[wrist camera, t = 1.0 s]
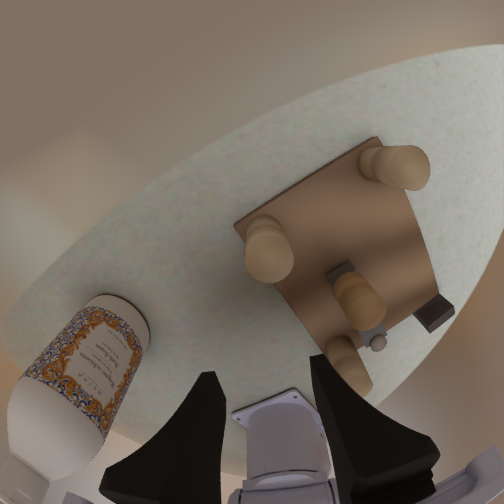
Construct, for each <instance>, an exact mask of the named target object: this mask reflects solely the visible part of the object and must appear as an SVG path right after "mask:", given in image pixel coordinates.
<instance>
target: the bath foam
mask: <svg viewBox="0 0 504 504" xmlns="http://www.w3.org/2000/svg"><path fill="white" fill-rule="evenodd" d="M148 344H149V331H148V327H147V325H146V323H145V321H144V319H143V317H142V316H141V315H140V313H139V312H138V311H137V310H136V309H135V308H134V307H133V306H132V305H130V304H129V303H128V302H126V301H124V300H122V299H120V298H118V297H115V296H111V295H101V296H97V297H95V298H93V299H92V300H91V301H89V302H88V303H87V304H86V305H85V306H84V307H83V308H82V309H81V310H80V311H79V312H78V313H77V314H76V315H75V316H74V317H73V318H72V319H71V320H70V321H69V323H68V324H67V325H66V326H65V327H64V328H63V329H62V330H61V331H60V332H59V333H58V334H57V335H56V337H55V338H54V339H53V340H52V341H51V342H50V343H49V344H48V345H47V347H46V348H45V349H44V350H43V351H42V352H41V353H40V355H39V356H38V357H37V358H36V359H35V360H34V362H33V363H32V364H31V365H30V366H29V368H28V369H27V370H26V371H25V372H24V374H23V375H22V376H21V377H20V379H19V380H18V382H17V384H16V385H15V387H14V389H13V391H12V394H11V397H10V400H9V404H8V411H7V426H8V439H9V447H10V454H9V455H8V456H7V458H6V460H5V461H4V463H3V465H2V467H1V469H0V500H1V501H2V502H3V503H5V504H42V503H43V500H44V498H45V495H46V493H47V490H48V488H49V483H51V482H52V481H55V480H57V479H60V478H63V477H65V476H68V475H70V474H72V473H74V472H76V471H78V470H80V469H82V468H83V467H85V466H86V465H88V464H89V463H90V462H91V461H92V460H93V459H94V457H95V456H96V455H97V454H98V452H99V451H100V449H101V447H102V445H103V444H104V442H105V439H106V437H107V435H108V432H109V430H110V428H111V425H112V423H113V421H114V418H115V416H116V414H117V412H118V409H119V407H120V405H121V403H122V401H123V398H124V396H125V394H126V392H127V390H128V387H129V385H130V383H131V381H132V379H133V377H134V375H135V373H136V371H137V368H138V366H139V364H140V362H141V360H142V358H143V356H144V354H145V352H146V350H147V347H148Z"/></svg>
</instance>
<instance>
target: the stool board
mask: <svg viewBox="0 0 504 504" xmlns="http://www.w3.org/2000/svg"><path fill="white" fill-rule="evenodd" d="M429 176H430V163H429V160H428V157H427V155H426V154H425V153H424V151H423V150H422V149H420V148H419V147H417V146H413V145H408V146H386V147H383V145H382V143H381V141H380V140H379V138H378V136H377V137H371V138H370V139H368V140H366V141H365V142H363V143H361V144H360V145H358V146H356V147H355V148H353V149H351V150H349V151H348V152H346V153H344V154H343V155H341V156H340V157H338V158H336V159H335V160H333V161H331V162H330V163H328V164H326V165H325V166H323V167H322V168H320V169H318V170H317V171H315V172H313V173H312V174H310V175H309V176H307V177H305V178H304V179H302V180H301V181H299V182H297V183H296V184H294V185H293V186H291V187H290V188H288V189H286V190H285V191H283V192H282V193H280V194H279V195H277V196H275V197H274V198H272V199H271V200H269V201H268V202H266V203H265V204H263V205H262V206H260V207H258V208H257V209H255V210H254V211H252V212H251V213H249V214H248V215H246V216H245V217H243V218H242V219H240V220H239V221H237V222H236V223H234V228H235V230H236V231H237V232H238V234H239V235H240V237H241V238H242V239H243V241H244V242H245V244H246V248H245V267H246V269H247V271H248V273H249V274H250V276H251V277H253V278H254V279H255V280H257V281H259V282H263V283H274V285H275V286H276V287H277V289H278V290H279V292H280V293H281V294H282V296H283V297H284V299H285V300H286V301H287V303H288V304H289V306H290V307H291V308H292V310H293V311H294V313H295V314H296V316H297V317H298V318H299V320H300V321H301V323H302V324H303V325H304V327H305V328H306V330H307V331H308V332H309V334H310V335H311V337H312V338H313V339H314V341H315V342H316V344H317V345H318V346H319V348H320V349H321V351H322V352H323V354H324V355H325V356H326V357H327V359H328V360H329V362H330V363H331V365H332V366H333V367H334V369H335V370H336V371H337V372H338V374H339V375H340V376H341V377H342V378H343V379H344V380H345V381H346V382H347V384H348V385H349V386H350V387H351V388H352V389H353V390H354V391H355V392H356V393H358V394H359V395H360V396H361V397H364V396H365V395H366V394H368V393H369V392H370V390H371V389H372V386H373V383H372V381H371V379H370V377H369V375H368V372H367V370H366V368H365V366H364V364H363V362H362V360H361V358H360V356H359V354H358V352H357V349H359V348H360V347H362V346H364V345H365V344H364V342H363V340H362V339H361V337H360V335H359V333H358V331H357V330H355V329H354V328H353V327H352V326H351V325H350V323H349V321H348V319H347V317H346V315H345V314H344V312H343V310H342V308H341V306H340V305H339V303H338V301H337V299H336V298H335V296H334V292H333V287H332V285H331V283H330V282H329V280H328V278H327V277H326V275H327V274H328V273H330V272H332V271H333V270H335V269H336V268H338V267H339V266H341V265H343V264H344V263H346V262H347V261H350V262H351V263H352V265H353V266H354V267H355V268H356V269H357V271H358V273H360V274H361V275H362V276H363V277H364V278H365V279H366V280H367V281H368V283H369V284H370V285H371V286H372V287H373V288H374V289H375V291H376V292H377V293H378V294H379V295H380V297H381V298H382V299H383V300H384V301H385V304H386V314H385V316H384V318H383V320H382V324H383V326H384V328H385V330H386V331H388V330H389V329H391V328H392V327H394V326H395V325H397V324H398V323H400V322H401V321H402V320H404V319H405V318H407V317H408V316H410V315H411V314H413V315H414V316H415V317H416V318H417V319H418V320H419V322H420V323H421V324H422V325H423V326H424V327H425V328H426V330H427V331H428V332H429V333H431V332H433V331H434V330H435V329H437V328H438V327H439V326H441V325H442V324H443V323H444V322H446V321H447V320H448V319H449V318H451V317H452V316H453V315H454V314H455V310H454V306H453V305H452V304H451V303H450V302H449V301H448V300H446V299H445V298H444V297H443V296H442V295H441V294H439V291H438V287H437V283H436V279H435V275H434V272H433V268H432V265H431V261H430V258H429V255H428V252H427V249H426V246H425V243H424V240H423V237H422V234H421V231H420V228H419V225H418V223H417V220H416V217H415V215H414V212H413V210H412V207H411V205H410V202H409V200H408V198H407V195H406V193H405V191H404V189H407V190H411V191H417V190H420V189H421V188H423V187H424V186H425V185H426V183H427V182H428V179H429Z"/></svg>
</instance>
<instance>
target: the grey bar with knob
mask: <svg viewBox="0 0 504 504" xmlns="http://www.w3.org/2000/svg"><path fill="white" fill-rule="evenodd" d="M326 277H327V278H328V280H329V282H330V283H331V285H332V287H333V292H334V296H335V298H336V299H337V301H338V303H339V305H340V306H341V308H342V310H343V312H344V314H345V315H346V317H347V319H348V321H349V323H350V325H351V326H352V327H353V328H354V329H355V330H357V331H358V333H359V335H360V337H361V339H362V340H363V342H364V344H365V346H366V348H367V347H369V346H370V347H371V349H372V351H374V352H378V351H381V350H382V349H383V348H384V347H385V346H386V344H387V340H386V338H385V336H386V335H387V333H386V330H385V328H384V326H383V324H382V320H383V318H384V316H385V314H386V304H385V301H384V300H383V299H382V298H381V297H380V295H379V294H378V293H377V292H376V291H375V289H374V288H373V287H372V286H371V285H370V284H369V283H368V281H367V280H366V279H365V278H364V277H363V276H362V275H361V274H360V273H358V271H357V269H356V268H355V267H354V266H353V265H352V263H351V262H350V261H347V262H346V263H344V264H343V265H341V266H339V267H338V268H336V269H335V270H333V271H332V272H330V273H328V274H327V275H326Z"/></svg>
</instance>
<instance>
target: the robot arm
mask: <svg viewBox="0 0 504 504" xmlns="http://www.w3.org/2000/svg"><path fill="white" fill-rule="evenodd" d="M310 367H311V377H312V387H313V392H314V396H315V401H316V405H317V409H318V412H319V413H318V412H317V411H316V410H315V409H314V407H313V406H312V405H311V404H310V403H309V402H308V401H307V400H306V399H305V398H304V397H303V396H302V395H301V394H300V393H299V392H298V391H297V390H296V389H291V390H289V391H287V392H284V393H282V394H280V395H277V396H275V397H273V398H270V399H268V400H265V401H263V402H261V403H258V404H255V405H253V406H250V407H248V408H245V409H242V410H240V411H237V412H234V413H232V415H231V417H232V418H233V419H234V420H235V421H237V422H238V423H239V424H241V425H242V426H243V427H245V428H246V429H247V430H248V434H247V480H243V489H236V490H235V491H234V492H233V493H232V494H231V495H230V496H229V499H228V504H487V503H488V502H490V501H491V500H492V499H494V498H495V497H496V496H497V495H499V494H500V493H501V492H502V491H504V459H503V457H502V455H501V454H500V452H499V450H498V448H497V447H496V445H493V446H491V447H490V448H489V449H487V450H486V451H484V452H483V453H481V454H480V455H478V456H477V457H476V458H474V459H473V460H472V461H471V462H470V463H468V465H467V466H466V467H465V468H464V469H462V470H461V471H459V472H457V473H456V474H454V475H452V476H450V477H448V478H447V479H445V480H443V481H441V482H439V483H437V484H435V485H434V483H433V481H432V477H433V473H432V471H431V468H432V467H433V466H434V465H435V463H436V462H437V461H438V459H439V457H440V452H439V450H438V448H437V446H436V445H435V443H434V442H433V441H432V440H431V438H430V437H429V436H427V435H424V434H421V433H419V432H416V431H414V430H412V429H409V428H407V427H405V426H403V425H401V424H399V423H398V422H396V421H394V420H392V419H391V418H389V417H388V416H386V415H384V414H383V413H381V412H380V411H378V410H377V409H376V408H374V407H373V406H372V405H370V404H369V403H368V402H367V401H365V400H364V399H363V398H362V397H361V396H360V395H359V394H358V393H356V392H355V391H354V390H353V389H352V388H351V387H350V386H349V385H348V384H347V382H346V381H345V380H344V379H343V378H342V377H341V376H340V375H339V374H338V372H337V371H336V370H335V369H334V367H333V366H332V365H331V363H330V362H329V360H328V359H327V357H326V356H325V355H324V354H320V355H315V356H310ZM295 395H296V396H295ZM225 422H226V397H225V395H224V393H223V390H222V388H221V385H220V383H219V381H218V378H217V376H216V373H215V371H211V372H202V373H201V374H200V376H199V378H198V379H197V381H196V382H195V384H194V386H193V387H192V389H191V390H190V392H189V393H188V395H187V396H186V398H185V399H184V401H183V402H182V404H181V405H180V407H179V408H178V409H177V410H176V412H175V413H174V414H173V416H172V417H171V418H170V419H169V421H168V422H167V423H166V424H165V425H164V426H163V427H162V428H161V429H160V430H159V431H158V433H157V434H155V435H154V436H153V437H152V438H151V439H150V440H149V441H148V442H147V443H145V444H144V445H143V446H142V447H140V448H139V449H138V450H136V451H135V452H134V453H132V454H131V455H129V456H128V457H126V458H125V459H123V460H121V461H120V462H117V463H116V464H114V465H112V466H110V467H108V468H106V470H105V473H104V475H103V478H102V481H101V484H100V487H99V491H100V493H101V494H102V495H103V496H105V497H106V498H108V499H109V500H111V501H112V502H114V503H116V504H221V483H220V482H221V481H220V463H221V452H222V444H223V437H224V430H225ZM323 430H325V433H326V436H327V439H328V442H329V446H330V450H331V455H332V460H333V466H334V471H335V477H336V479H335V478H331V479H328V477H329V474H330V471H331V464H330V460H329V455H328V451H327V446H326V441H325V437H324V432H323ZM62 504H93V503H92V502H90V501H88V500H86V499H84V498H82V497H80V496H77V495H75V494H73V493H70V492H66V495H65V498H64V500H63V503H62Z"/></svg>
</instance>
